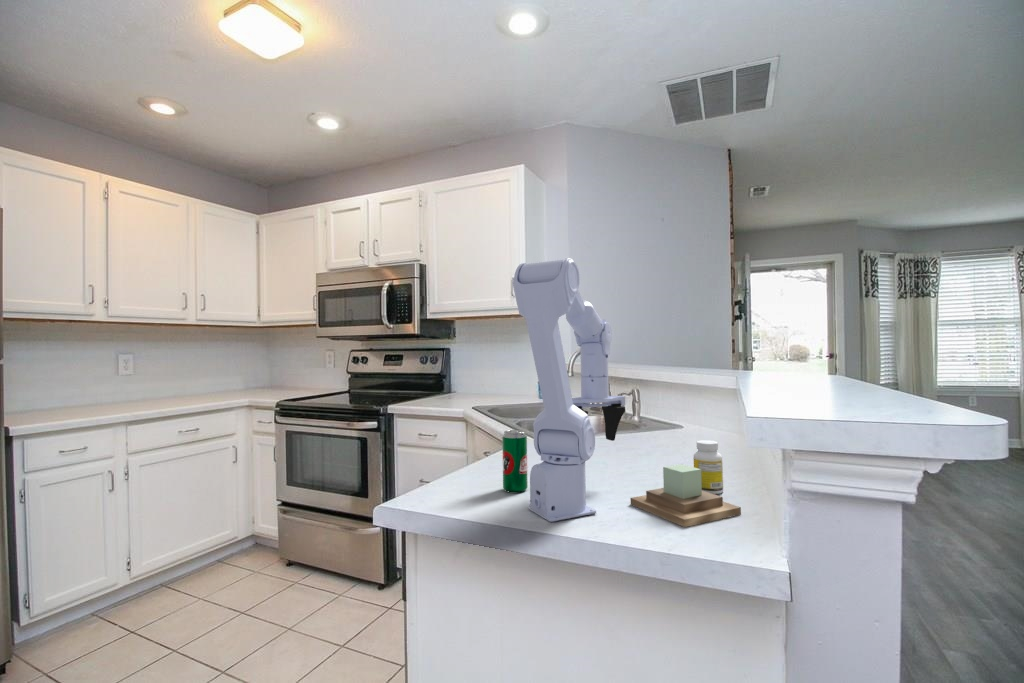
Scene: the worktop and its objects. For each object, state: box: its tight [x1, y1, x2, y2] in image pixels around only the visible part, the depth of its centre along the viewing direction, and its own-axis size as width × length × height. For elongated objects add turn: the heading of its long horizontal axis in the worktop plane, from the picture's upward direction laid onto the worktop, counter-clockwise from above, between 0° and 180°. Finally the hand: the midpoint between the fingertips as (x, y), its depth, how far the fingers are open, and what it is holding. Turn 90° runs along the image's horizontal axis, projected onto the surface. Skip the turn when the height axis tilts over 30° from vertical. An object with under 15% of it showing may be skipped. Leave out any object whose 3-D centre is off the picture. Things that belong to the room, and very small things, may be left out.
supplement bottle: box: [693, 439, 724, 495], centre depth 95 cm, size 5×5×10 cm
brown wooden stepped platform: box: [629, 487, 742, 528], centre depth 83 cm, size 13×13×3 cm
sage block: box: [662, 463, 702, 499], centre depth 84 cm, size 4×4×4 cm
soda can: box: [502, 429, 529, 493], centre depth 97 cm, size 5×5×12 cm
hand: (595, 441), depth 99 cm, fingers open, 7 cm apart
